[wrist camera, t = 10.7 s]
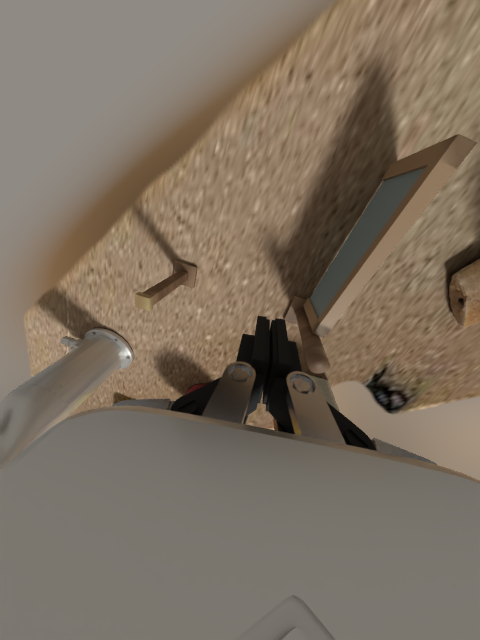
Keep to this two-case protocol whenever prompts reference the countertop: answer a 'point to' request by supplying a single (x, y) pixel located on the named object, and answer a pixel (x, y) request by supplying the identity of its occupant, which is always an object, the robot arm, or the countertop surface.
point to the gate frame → (295, 315)
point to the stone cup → (466, 294)
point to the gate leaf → (383, 227)
